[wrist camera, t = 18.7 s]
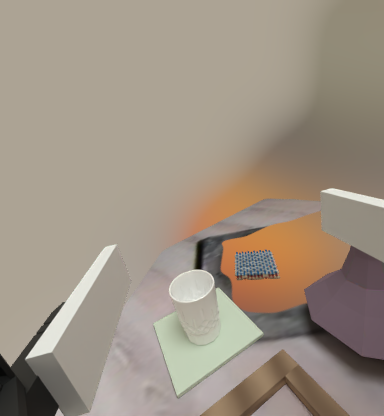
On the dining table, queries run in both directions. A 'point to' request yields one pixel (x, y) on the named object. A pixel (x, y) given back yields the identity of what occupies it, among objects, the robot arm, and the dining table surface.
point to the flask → (352, 303)
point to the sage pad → (204, 354)
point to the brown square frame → (275, 390)
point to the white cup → (196, 305)
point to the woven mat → (255, 266)
